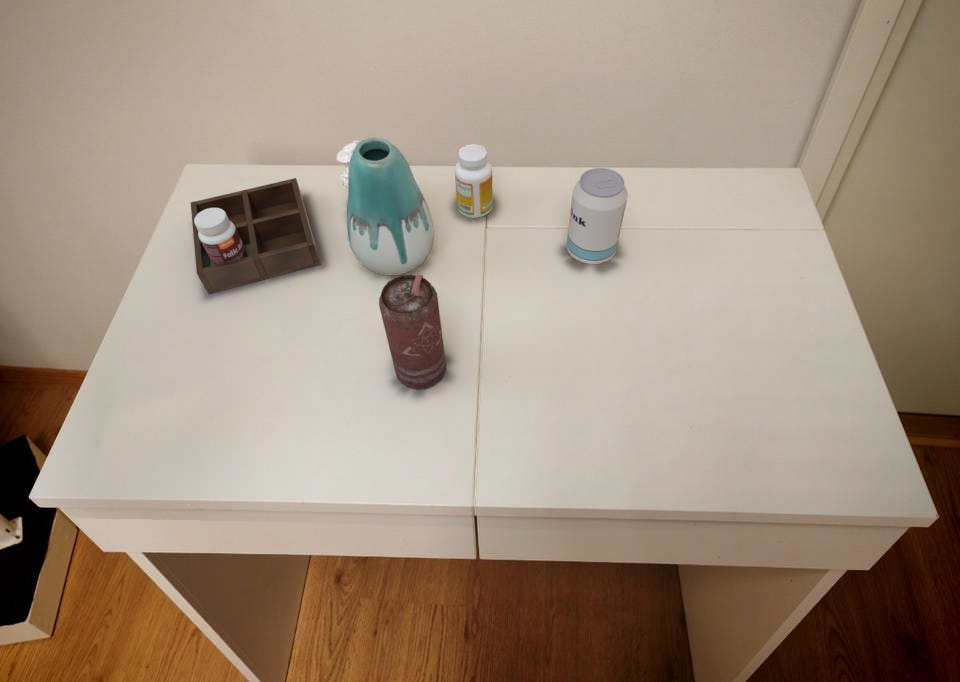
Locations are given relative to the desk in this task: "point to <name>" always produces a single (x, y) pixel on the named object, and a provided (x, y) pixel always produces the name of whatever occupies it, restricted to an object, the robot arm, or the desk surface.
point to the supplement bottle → (473, 181)
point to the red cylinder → (413, 330)
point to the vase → (386, 210)
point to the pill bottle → (219, 236)
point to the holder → (259, 235)
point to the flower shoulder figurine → (346, 159)
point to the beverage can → (596, 215)
